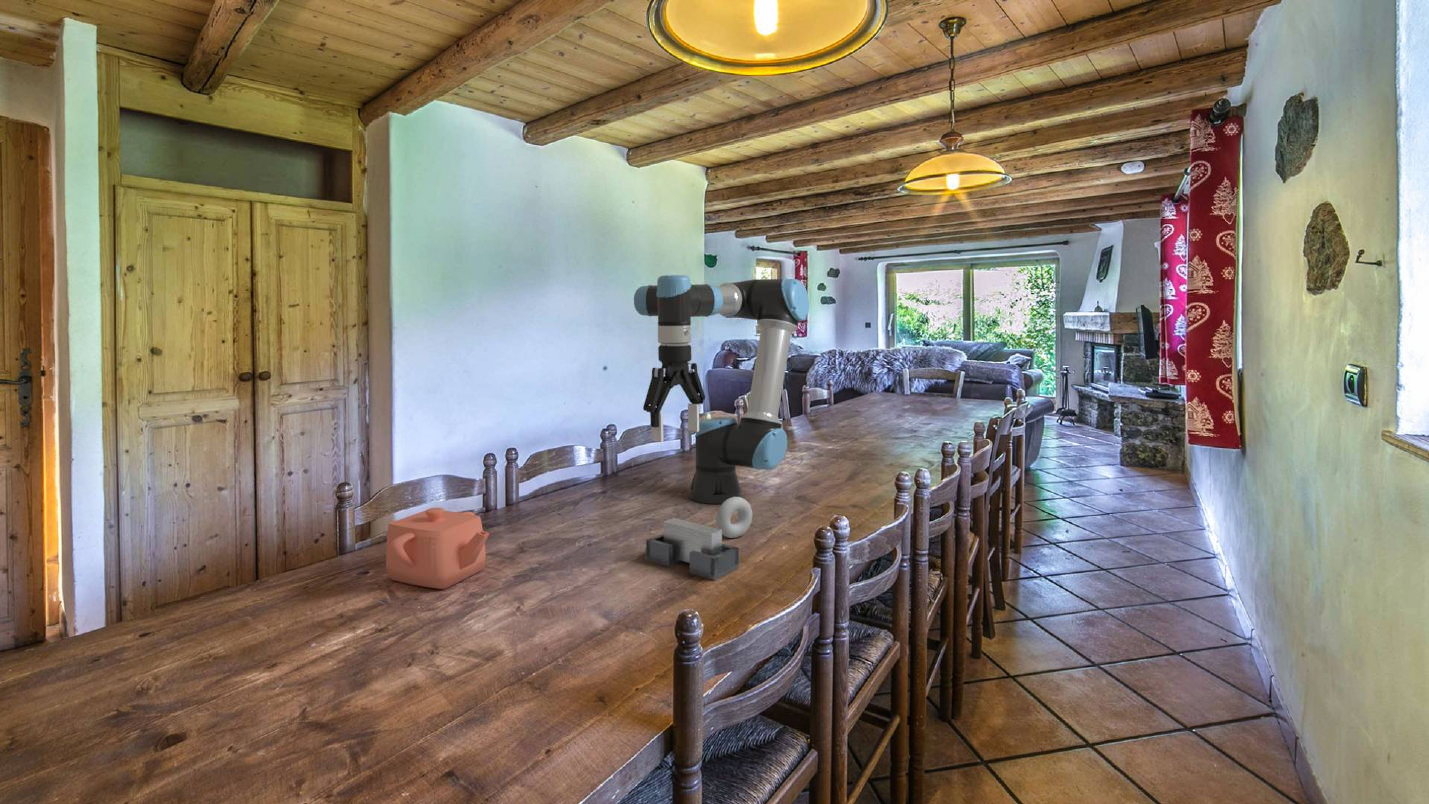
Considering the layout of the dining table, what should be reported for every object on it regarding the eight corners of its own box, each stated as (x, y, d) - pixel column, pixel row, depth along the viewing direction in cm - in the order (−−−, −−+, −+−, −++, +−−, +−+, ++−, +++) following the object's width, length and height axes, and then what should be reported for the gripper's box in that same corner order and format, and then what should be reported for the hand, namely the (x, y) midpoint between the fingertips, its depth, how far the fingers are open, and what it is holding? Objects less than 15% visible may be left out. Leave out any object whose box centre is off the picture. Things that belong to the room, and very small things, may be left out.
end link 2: (714, 561, 146) (714, 541, 146) (738, 568, 143) (738, 547, 142) (689, 573, 140) (689, 552, 139) (714, 580, 136) (714, 559, 135)
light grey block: (674, 550, 150) (674, 518, 149) (721, 564, 142) (722, 529, 141) (663, 555, 147) (663, 521, 146) (711, 569, 139) (711, 533, 138)
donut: (721, 543, 158) (721, 501, 157) (712, 539, 161) (713, 498, 160) (755, 535, 164) (755, 495, 163) (746, 532, 167) (747, 492, 165)
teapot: (364, 590, 130) (360, 520, 128) (447, 553, 150) (444, 492, 148) (446, 607, 123) (443, 533, 121) (522, 566, 143) (520, 502, 141)
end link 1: (671, 549, 154) (671, 530, 153) (693, 555, 150) (693, 536, 149) (646, 560, 147) (646, 540, 146) (668, 567, 143) (668, 546, 143)
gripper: (652, 348, 142) (654, 447, 145) (719, 341, 162) (719, 428, 166) (625, 347, 146) (628, 443, 150) (693, 340, 167) (694, 425, 170)
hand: (676, 435), depth 158 cm, fingers open, 13 cm apart
